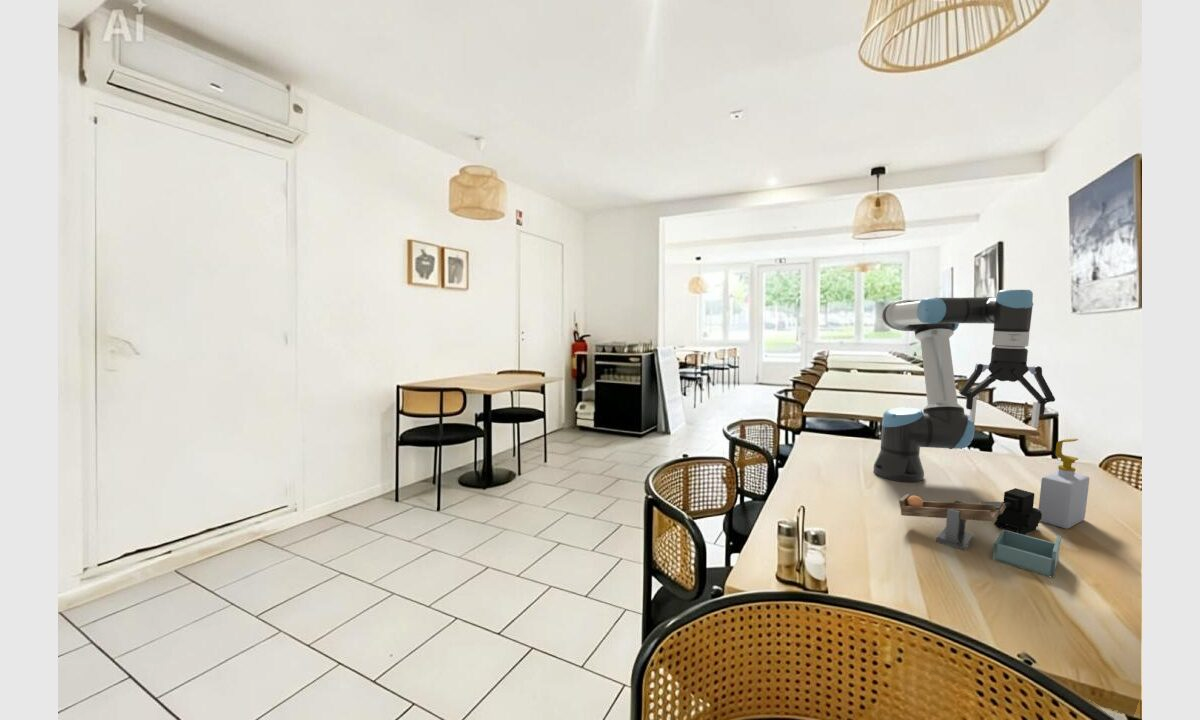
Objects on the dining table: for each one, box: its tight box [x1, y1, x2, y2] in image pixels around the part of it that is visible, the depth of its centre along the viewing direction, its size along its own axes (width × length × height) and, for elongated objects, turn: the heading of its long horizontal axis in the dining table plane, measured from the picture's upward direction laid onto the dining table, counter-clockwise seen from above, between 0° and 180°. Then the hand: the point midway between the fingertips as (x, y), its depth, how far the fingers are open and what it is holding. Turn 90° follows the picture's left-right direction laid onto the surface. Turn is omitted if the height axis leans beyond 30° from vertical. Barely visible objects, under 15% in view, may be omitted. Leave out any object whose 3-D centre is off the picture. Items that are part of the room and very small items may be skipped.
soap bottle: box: [1038, 438, 1090, 529], centre depth 134 cm, size 12×7×23 cm, turn 119°
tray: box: [992, 528, 1062, 578], centre depth 115 cm, size 11×11×6 cm
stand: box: [935, 499, 975, 552], centre depth 125 cm, size 6×10×9 cm, turn 133°
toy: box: [994, 488, 1042, 535], centre depth 130 cm, size 8×14×10 cm, turn 117°
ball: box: [907, 495, 924, 507], centre depth 131 cm, size 4×4×4 cm
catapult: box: [898, 493, 1006, 523], centre depth 128 cm, size 20×12×4 cm, turn 42°
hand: (1002, 423), depth 135 cm, fingers open, 13 cm apart
